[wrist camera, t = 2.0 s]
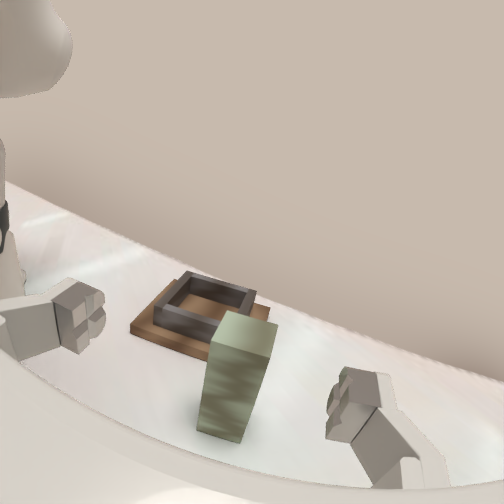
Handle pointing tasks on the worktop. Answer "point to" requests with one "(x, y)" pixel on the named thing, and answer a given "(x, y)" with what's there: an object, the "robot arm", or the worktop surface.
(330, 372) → the worktop surface
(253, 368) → the green peg
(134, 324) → the display stand
